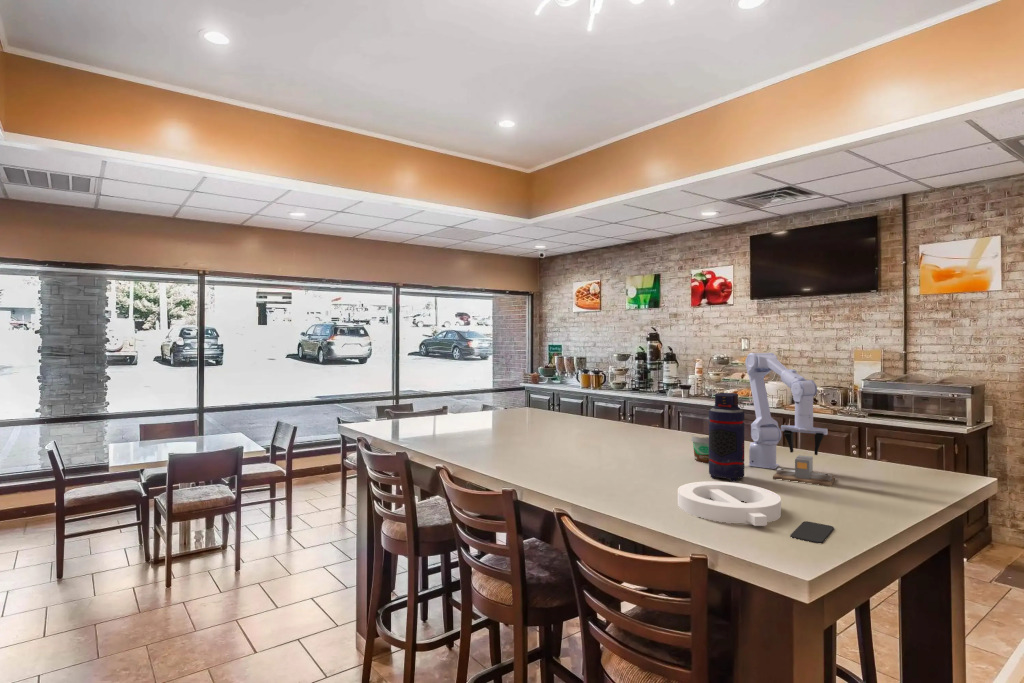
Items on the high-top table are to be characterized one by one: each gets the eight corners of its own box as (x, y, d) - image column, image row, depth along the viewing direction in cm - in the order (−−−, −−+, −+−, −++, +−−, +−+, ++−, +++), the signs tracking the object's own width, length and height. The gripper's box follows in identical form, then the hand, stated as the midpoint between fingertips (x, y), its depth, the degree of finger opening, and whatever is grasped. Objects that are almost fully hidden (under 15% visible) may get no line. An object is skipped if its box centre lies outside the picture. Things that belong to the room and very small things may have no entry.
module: (794, 477, 198) (794, 459, 198) (798, 473, 204) (798, 455, 204) (809, 479, 195) (809, 460, 195) (812, 474, 202) (812, 456, 202)
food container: (691, 462, 226) (691, 437, 226) (690, 459, 232) (691, 435, 232) (724, 464, 223) (724, 439, 223) (723, 461, 229) (723, 436, 229)
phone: (788, 535, 141) (803, 520, 153) (788, 539, 141) (803, 523, 153) (822, 542, 136) (834, 526, 148) (822, 546, 136) (834, 529, 148)
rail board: (772, 479, 200) (772, 471, 200) (779, 472, 210) (779, 465, 210) (831, 486, 189) (831, 478, 189) (834, 479, 199) (834, 471, 199)
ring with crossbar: (698, 491, 185) (698, 477, 185) (791, 507, 167) (791, 491, 167) (662, 512, 163) (662, 495, 163) (764, 532, 146) (764, 514, 146)
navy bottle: (738, 483, 194) (739, 395, 194) (704, 478, 201) (704, 393, 201) (749, 475, 205) (749, 392, 205) (716, 471, 212) (716, 390, 212)
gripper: (779, 414, 200) (779, 452, 200) (826, 417, 192) (825, 457, 192) (782, 412, 206) (782, 449, 206) (828, 415, 198) (828, 454, 198)
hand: (803, 453), depth 200 cm, fingers open, 7 cm apart
